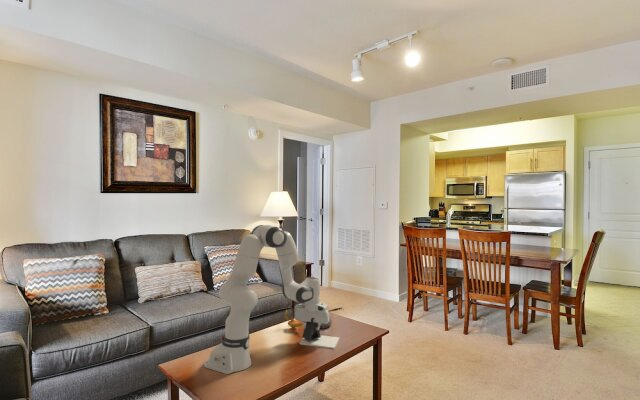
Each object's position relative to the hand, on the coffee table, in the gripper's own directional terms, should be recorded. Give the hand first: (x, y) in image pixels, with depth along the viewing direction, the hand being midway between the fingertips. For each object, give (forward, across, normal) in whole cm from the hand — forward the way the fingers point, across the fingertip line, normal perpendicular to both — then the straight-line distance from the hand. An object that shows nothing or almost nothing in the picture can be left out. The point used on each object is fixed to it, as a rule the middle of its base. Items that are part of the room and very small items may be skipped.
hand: (311, 329), depth 193 cm
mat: (+6, +5, 0) cm, 8 cm away
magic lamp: (+7, -14, +12) cm, 20 cm away
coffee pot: (+7, +5, +22) cm, 24 cm away
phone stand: (+5, 0, 0) cm, 5 cm away
